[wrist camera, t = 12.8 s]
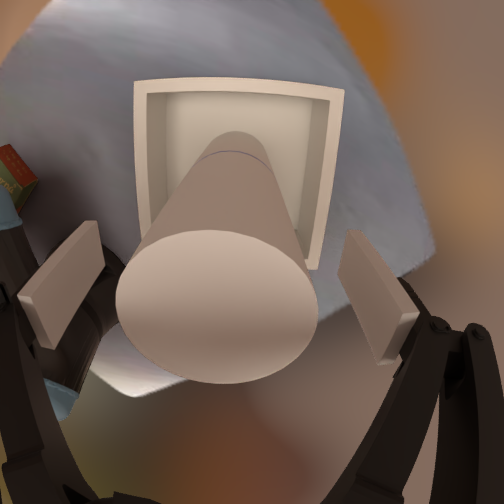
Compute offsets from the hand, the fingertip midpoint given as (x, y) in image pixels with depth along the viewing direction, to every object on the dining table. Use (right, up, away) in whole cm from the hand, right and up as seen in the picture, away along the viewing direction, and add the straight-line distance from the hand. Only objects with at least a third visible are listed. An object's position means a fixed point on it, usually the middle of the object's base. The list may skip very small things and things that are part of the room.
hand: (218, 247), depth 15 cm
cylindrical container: (0, +10, +17) cm, 20 cm away
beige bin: (0, +10, +18) cm, 20 cm away
